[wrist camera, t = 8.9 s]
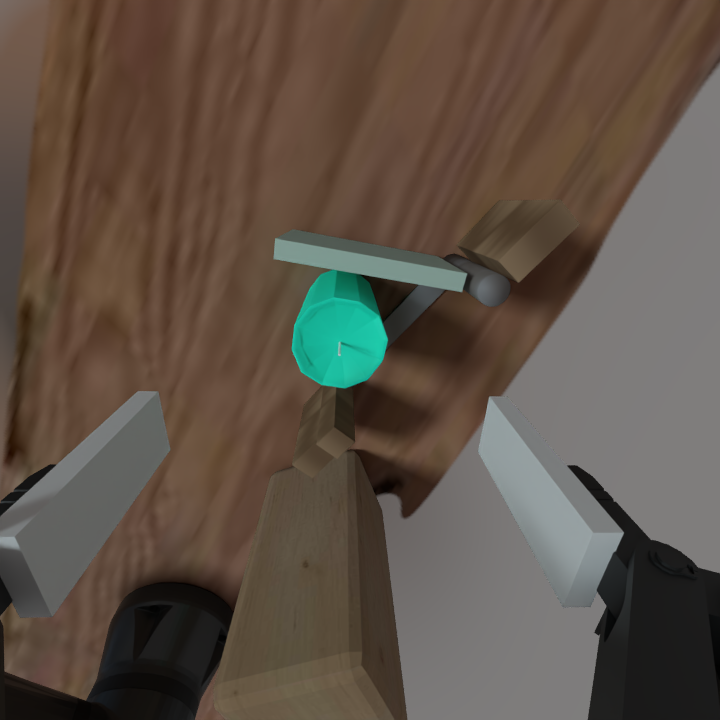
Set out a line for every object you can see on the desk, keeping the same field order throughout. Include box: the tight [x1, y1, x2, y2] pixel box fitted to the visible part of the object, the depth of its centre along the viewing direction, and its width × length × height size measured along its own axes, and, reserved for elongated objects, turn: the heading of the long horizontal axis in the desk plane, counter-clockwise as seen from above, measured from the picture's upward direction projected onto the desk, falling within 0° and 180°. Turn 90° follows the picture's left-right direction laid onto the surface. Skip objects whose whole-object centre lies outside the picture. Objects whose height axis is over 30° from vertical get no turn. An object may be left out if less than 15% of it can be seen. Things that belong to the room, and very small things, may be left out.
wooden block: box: [213, 450, 407, 720], centre depth 31 cm, size 10×10×20 cm
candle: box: [292, 270, 388, 388], centre depth 26 cm, size 6×6×12 cm
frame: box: [292, 200, 580, 478], centre depth 28 cm, size 25×2×10 cm, turn 138°
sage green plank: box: [274, 229, 467, 292], centre depth 26 cm, size 12×1×8 cm, turn 80°
